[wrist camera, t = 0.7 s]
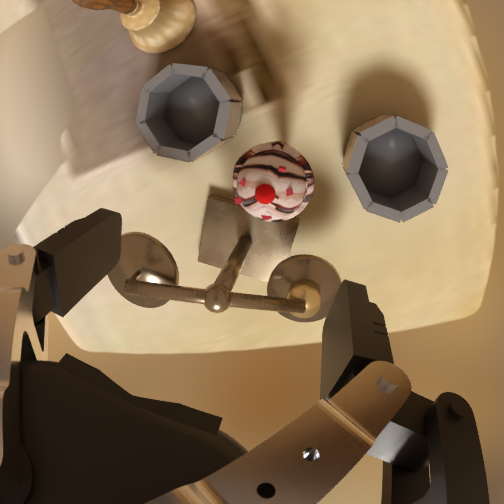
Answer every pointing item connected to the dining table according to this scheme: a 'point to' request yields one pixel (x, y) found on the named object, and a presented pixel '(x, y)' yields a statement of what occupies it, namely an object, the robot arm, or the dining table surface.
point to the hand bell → (151, 20)
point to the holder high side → (188, 111)
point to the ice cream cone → (273, 182)
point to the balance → (231, 267)
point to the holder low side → (395, 167)
